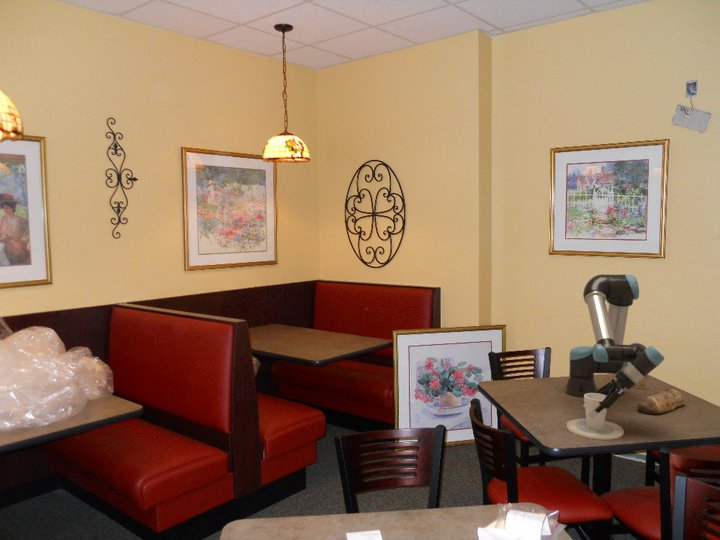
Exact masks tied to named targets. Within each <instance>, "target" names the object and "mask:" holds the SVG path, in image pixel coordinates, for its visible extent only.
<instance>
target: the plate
mask: <svg viewBox="0 0 720 540" xmlns="http://www.w3.org/2000/svg"><path fill="white" fill-rule="evenodd" d="M566 429H567V430H568V432H569V433H571V434H573V435H575V436H578V437H582V438H584V439H591V440H597V441H610V440H617V439H620V438H622V437H623V436H624V432H625V431H624V428H622V426H621V425H619V424H616V423H615V422H612V421H611V422H610V421H607V420H605V421H604V426H603V429H601V430H595V429H591V428H588V427H587V423H586V417H585V418H574V419H571V420H569V421H568V422H566Z"/></svg>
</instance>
